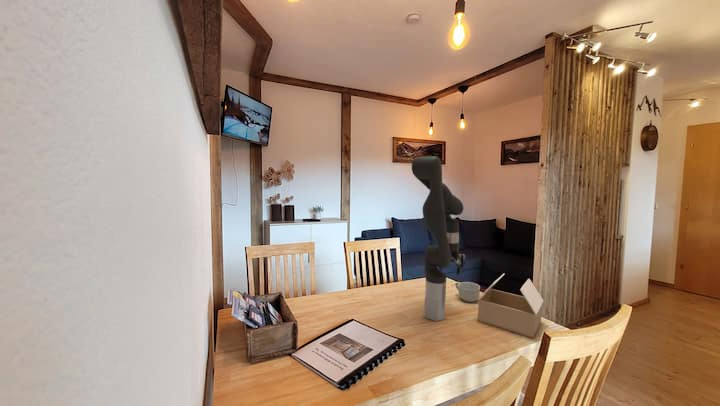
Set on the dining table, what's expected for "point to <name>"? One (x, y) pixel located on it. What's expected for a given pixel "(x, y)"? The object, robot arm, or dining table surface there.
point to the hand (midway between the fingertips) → (449, 272)
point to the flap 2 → (532, 296)
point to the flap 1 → (490, 286)
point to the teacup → (468, 291)
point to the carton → (509, 313)
